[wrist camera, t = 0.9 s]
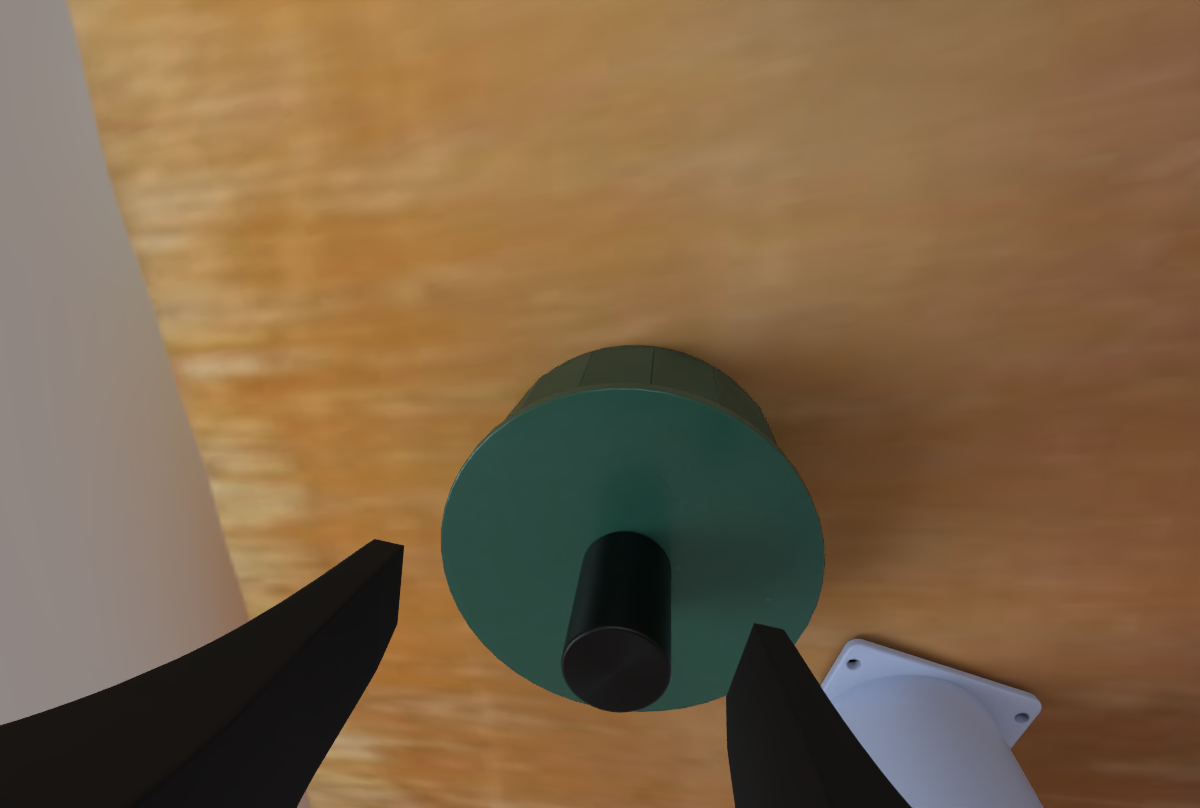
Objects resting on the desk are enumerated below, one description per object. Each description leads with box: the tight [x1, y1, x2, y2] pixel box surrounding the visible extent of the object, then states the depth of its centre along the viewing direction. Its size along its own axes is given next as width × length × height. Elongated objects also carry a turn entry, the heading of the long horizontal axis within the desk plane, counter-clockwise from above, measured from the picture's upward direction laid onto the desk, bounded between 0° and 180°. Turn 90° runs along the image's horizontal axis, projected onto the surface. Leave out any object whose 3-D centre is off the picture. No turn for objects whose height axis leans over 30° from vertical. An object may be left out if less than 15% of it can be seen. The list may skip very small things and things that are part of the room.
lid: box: [441, 383, 825, 712], centre depth 17 cm, size 11×11×5 cm
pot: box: [506, 346, 778, 446], centre depth 21 cm, size 10×10×5 cm
